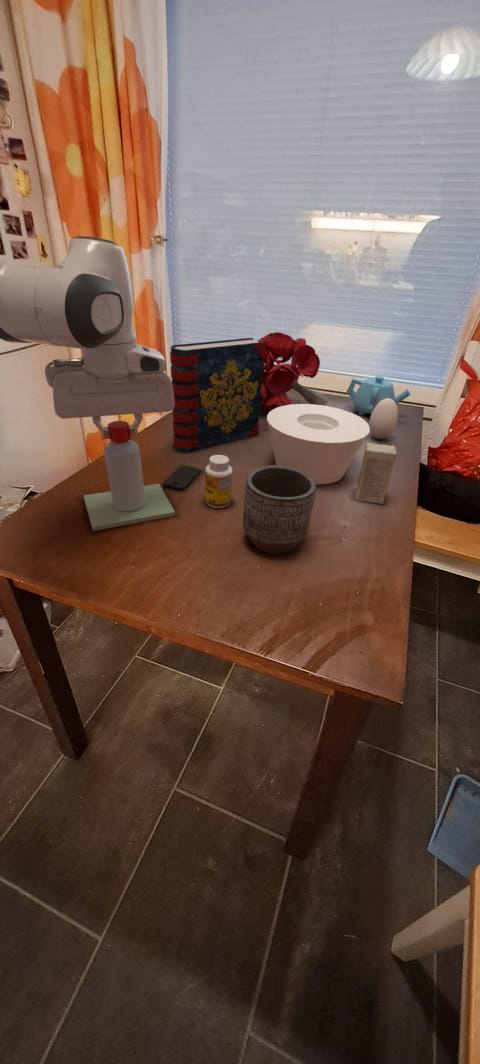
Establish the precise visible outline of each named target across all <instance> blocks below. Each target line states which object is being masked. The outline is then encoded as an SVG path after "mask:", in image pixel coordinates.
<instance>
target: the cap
mask: <svg viewBox="0 0 480 1064" xmlns="http://www.w3.org/2000/svg"><path fill="white" fill-rule="evenodd" d="M129 425H130V424H129V422H128V421H125V420H115V421H111V422H109V423H107V427H108V429H109V432H110V434H109V435H110V439H109V440H110V441H112V442H114V443H123V442H127V441H129V440H132V439H131V438H132V437H130V432H129ZM110 441H109V442H110Z"/></svg>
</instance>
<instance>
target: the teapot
mask: <svg viewBox="0 0 480 1064" xmlns="http://www.w3.org/2000/svg"><path fill="white" fill-rule="evenodd" d="M356 385H358V386H359V387H358V389H357V390H356V391H355V387H356ZM394 388H395V387H394V384H393V383H392V381H390V380H386V379H385V378H384V376H382V375H376V376H375V378H372V377H369V378H366V379H365V380H361V379H358V378H355V377H353V378H352V380H351V381H350V383H349V385H348V387H347V390H346V394H347V395H348V396H349V398H350V399H351V400H352V404H353V407H354V409H355V410H356V411H358V412H357V414H358V416H359V415H360V416H365V415H366V414H368V415H371V414H372V412H373V410H374V409H375V407H376V406H377V405H378V403H379V402H380V401H382V400H384V399H386V398H390V399H392V400H393V401H394V402H395V404H396V405H398V404H399V403H401V402H402V401H404V400H405V399H407V398H408V397H410V396H411V392H410V391H409V389H405V390H403V391H402V392H400V393H399V394H397V396H396V395H395V389H394Z"/></svg>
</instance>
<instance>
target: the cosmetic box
mask: <svg viewBox="0 0 480 1064" xmlns="http://www.w3.org/2000/svg"><path fill="white" fill-rule="evenodd" d="M396 458H397V448H396V445H390V444H380V443H373V442H366V444H365V448H364V453H363V457H362V461H361V467H360V471H359V475H358V479H357V484H356V488H355V496H354V499H355V500H356V501H360V502H367V503H373V504H381V505H382V504H383V505H384V502H385V498H386V495H387V490H388V487H389V484H390V480H391V476H392V472H393V469H394V465H395V461H396Z"/></svg>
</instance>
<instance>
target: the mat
mask: <svg viewBox="0 0 480 1064" xmlns="http://www.w3.org/2000/svg"><path fill="white" fill-rule="evenodd" d="M144 493H145V501H146V502H145V505H144V506H143V507H142V508H140V509H138V510H134V511H120V510H117V509H116V508H114V506H113V501H112V495H111V490H109V491H103V492H97V493H90V494H84V495H83V501H84V504H85V508H86V511H87V515H88V519H89V523H90V526H91V529H92V532H95V531H96V532H97V531H101V530H106V529H112V528H117V527H123V526H127V525H133V524H138V523H143V522H150V521H154V520H159V519H160V520H161V519H165V518H170V517H171V518H172V517H176V511H175V509H174V508H173V506H172V504H171V502H170V500H169V498H168V497H167V495H166V494H165V492H164V489H163V488H162V486H161V484H160V483H154V484H149V485H144Z"/></svg>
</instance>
